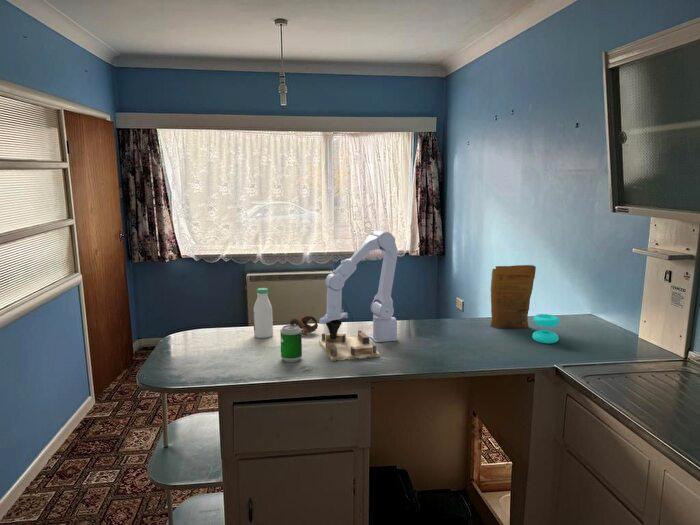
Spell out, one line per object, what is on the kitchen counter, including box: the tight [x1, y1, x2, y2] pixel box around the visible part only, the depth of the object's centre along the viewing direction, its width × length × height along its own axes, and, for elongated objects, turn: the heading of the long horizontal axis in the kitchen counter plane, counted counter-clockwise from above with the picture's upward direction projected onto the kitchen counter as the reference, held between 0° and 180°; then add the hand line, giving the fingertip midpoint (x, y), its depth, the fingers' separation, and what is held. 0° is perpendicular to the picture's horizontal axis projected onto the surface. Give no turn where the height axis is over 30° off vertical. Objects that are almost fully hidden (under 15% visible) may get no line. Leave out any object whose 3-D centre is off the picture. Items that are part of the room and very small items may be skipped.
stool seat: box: [318, 330, 381, 362], centre depth 189 cm, size 18×22×4 cm
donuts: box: [531, 313, 561, 344], centre depth 199 cm, size 10×10×10 cm
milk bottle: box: [253, 287, 274, 339], centre depth 204 cm, size 8×8×20 cm
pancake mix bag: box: [490, 264, 537, 330], centre depth 216 cm, size 7×19×28 cm, turn 86°
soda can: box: [280, 324, 303, 363], centre depth 177 cm, size 8×8×12 cm
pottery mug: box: [289, 315, 319, 336], centre depth 210 cm, size 12×10×8 cm
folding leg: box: [325, 332, 347, 342], centre depth 195 cm, size 8×3×3 cm, turn 79°
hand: (333, 338), depth 193 cm, fingers closed, pressing on folding leg
